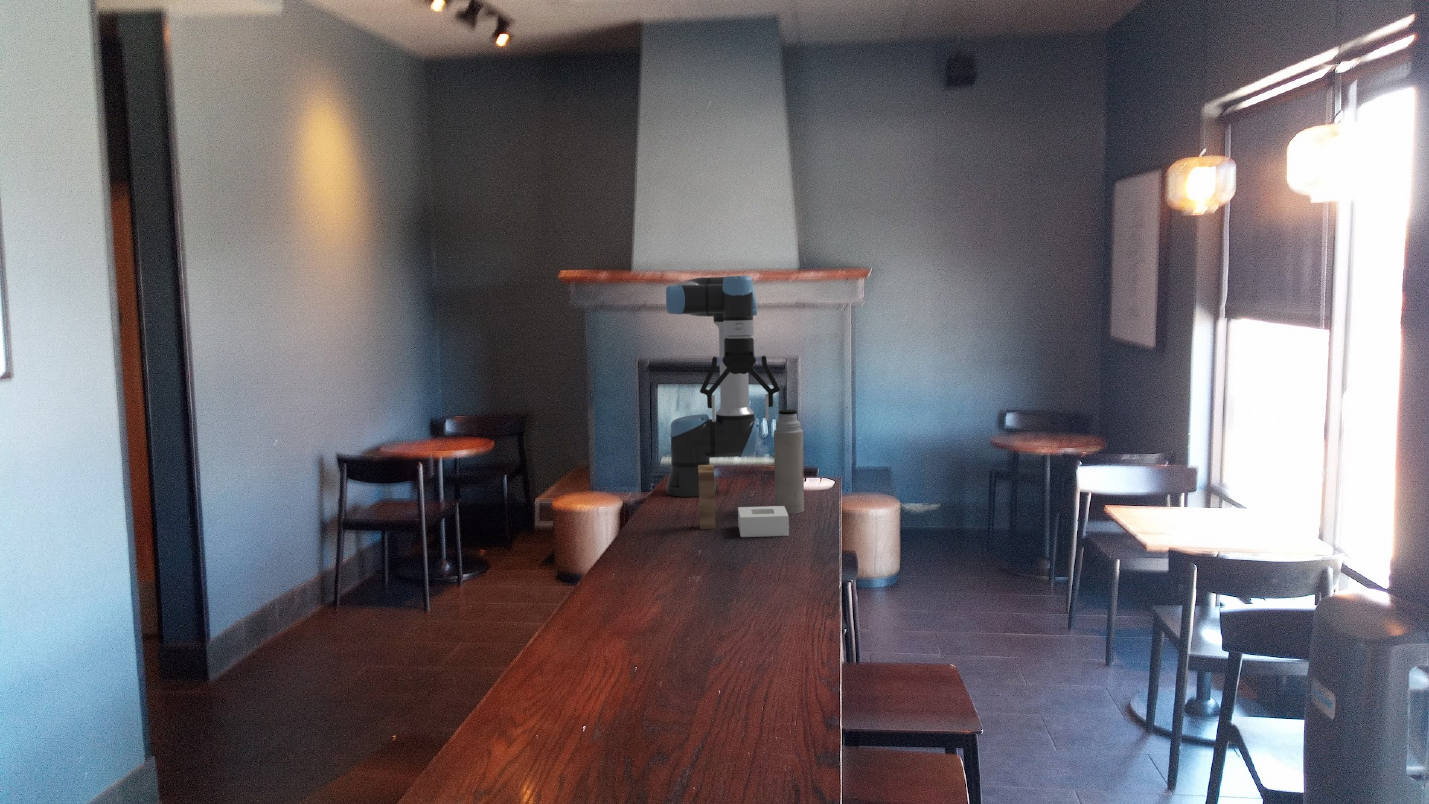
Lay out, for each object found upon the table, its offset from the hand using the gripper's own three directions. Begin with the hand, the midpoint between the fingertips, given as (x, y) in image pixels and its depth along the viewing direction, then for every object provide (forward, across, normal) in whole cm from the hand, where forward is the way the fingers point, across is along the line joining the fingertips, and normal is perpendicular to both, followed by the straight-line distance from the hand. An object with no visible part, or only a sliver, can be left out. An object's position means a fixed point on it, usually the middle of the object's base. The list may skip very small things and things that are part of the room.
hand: (740, 420), depth 270 cm
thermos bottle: (+28, +13, +20) cm, 37 cm away
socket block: (+28, +5, -4) cm, 29 cm away
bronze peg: (+28, -9, +2) cm, 29 cm away
